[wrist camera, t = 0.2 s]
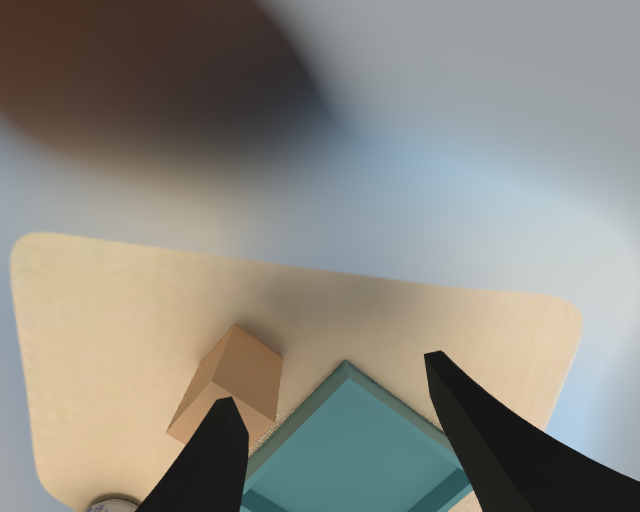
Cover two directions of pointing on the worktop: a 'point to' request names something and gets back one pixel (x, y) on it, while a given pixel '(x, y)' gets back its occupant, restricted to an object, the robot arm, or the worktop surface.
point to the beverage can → (113, 506)
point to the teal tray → (354, 455)
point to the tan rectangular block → (232, 386)
